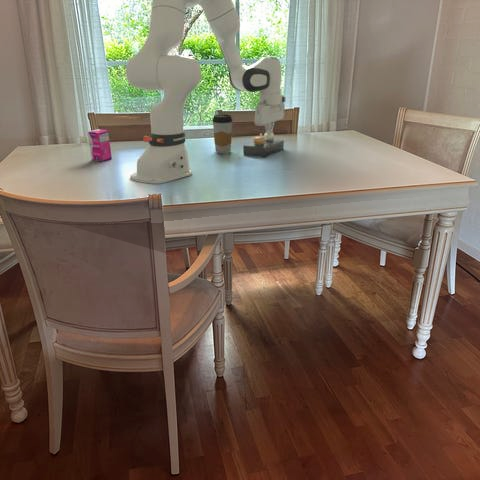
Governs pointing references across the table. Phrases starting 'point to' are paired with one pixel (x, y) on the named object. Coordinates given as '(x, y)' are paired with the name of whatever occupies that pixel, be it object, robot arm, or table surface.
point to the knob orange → (259, 140)
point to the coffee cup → (222, 133)
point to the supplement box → (99, 145)
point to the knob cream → (269, 137)
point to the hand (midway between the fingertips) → (269, 133)
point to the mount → (263, 148)
